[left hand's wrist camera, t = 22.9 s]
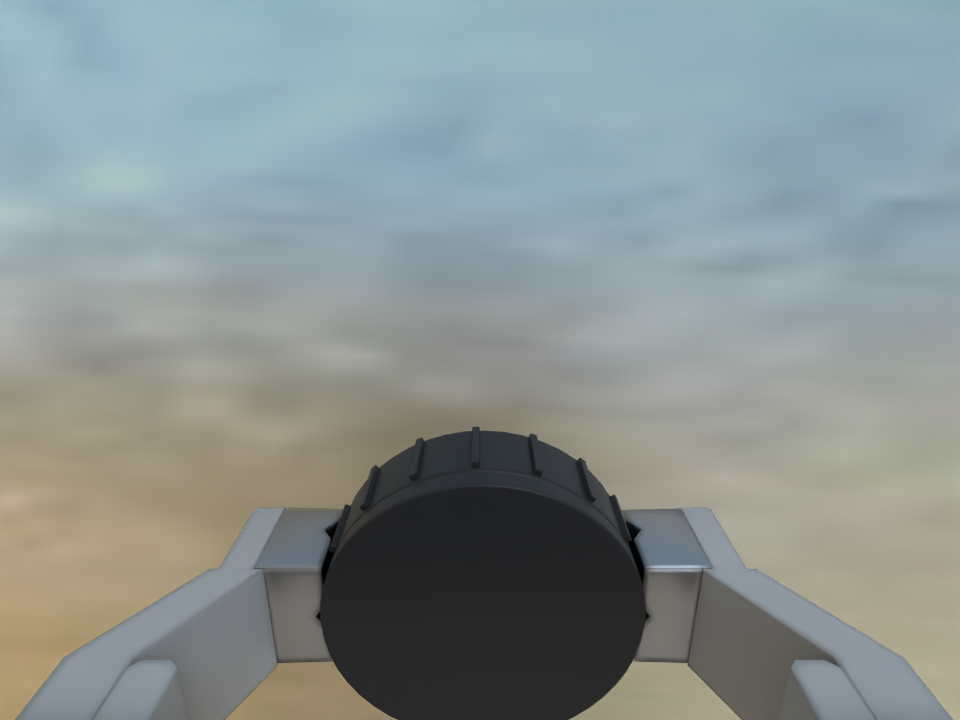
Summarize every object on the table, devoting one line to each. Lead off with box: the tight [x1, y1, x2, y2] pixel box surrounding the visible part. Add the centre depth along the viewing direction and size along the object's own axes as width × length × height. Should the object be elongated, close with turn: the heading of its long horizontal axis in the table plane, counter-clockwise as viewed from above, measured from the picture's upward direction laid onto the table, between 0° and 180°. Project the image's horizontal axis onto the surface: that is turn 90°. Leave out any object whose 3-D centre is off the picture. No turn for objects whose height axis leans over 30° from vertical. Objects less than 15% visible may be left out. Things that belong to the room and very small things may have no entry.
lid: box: [320, 427, 646, 720], centre depth 10 cm, size 5×5×2 cm
